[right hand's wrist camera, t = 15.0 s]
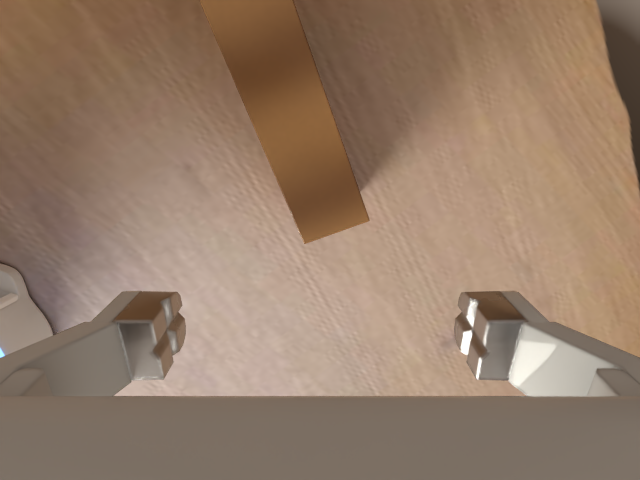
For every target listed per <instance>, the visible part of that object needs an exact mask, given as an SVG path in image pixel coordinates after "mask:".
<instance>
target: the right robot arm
mask: <svg viewBox="0 0 640 480" xmlns="http://www.w3.org/2000/svg"><path fill="white" fill-rule="evenodd" d="M181 307H182V302H181V297H180V295H179V293H178V292H158V291H125V292H121V293H120V294H119V295H118V296H117V297H116V298H115V299H114V300H113V301H112V302H111V303H110V304H109V305H108V306H107V307H106V308H105V309H104V310H103V311H102V312H100V313H99V314H98V315H97V316H96V317H95V318H94V319H93V320H92V321H91V322H84V323H81V324H79V325H77V326H74V327H72V328H69V329H67V330H65V331H62V332H60V333H58V334H55V335H53V332H52V329H51V327H50V325H49V323H48V321H47V319H46V318H45V316H44V315H43V313H42V312H41V311H40V310H39V308H38V307H37V306H36V305H35V303H34V302H33V301H32V299H31V298H30V296H29V294H28V291H27V288H26V285H25V282H24V280H23V278H22V276H21V274H20V273H19V272H18V271H17V270H16V269H14V268H13V267H10V266H7V265H4V264H1V263H0V480H640V358H639V357H637V356H634V355H632V354H630V353H627V352H625V351H623V350H620V349H618V348H615V347H613V346H611V345H608V344H606V343H604V342H601V341H599V340H597V339H594V338H592V337H589V336H587V335H585V334H582V333H580V332H578V331H575V330H573V329H571V328H568V327H566V326H563V325H561V324H559V323H556V322H549V321H548V320H547V319H546V318H545V317H544V316H543V315H542V314H541V313H540V312H539V311H538V310H536V309H535V308H534V307H533V306H532V305H531V304H530V303H529V302H528V301H527V300H526V299H525V298H524V297H523V296H522V295H521V294H520V293H519V292H516V291H489V292H462V293H461V295H460V297H459V301H458V307H459V308H460V310H461V311H462V312H461V313H460V315H459V316H458V317H457V318H456V319H455V326H454V332H455V340H456V343H457V346H458V347H459V349H460V351H461V352H463V353H464V354H466V355H467V356H468V357H467V364H468V366H469V367H470V369H471V371H472V373H473V374H474V376H475V378H476V380H509V382H510V383H511V384H512V385H513V386H515V387H516V388H517V389H519V390H520V391H521V392H523V393H524V394H525V395H527V396H114V395H115V394H116V393H117V392H119V391H120V390H121V389H123V388H124V387H125V386H127V385H128V384H129V383H131V380H164V378H165V376H166V374H167V373H168V371H169V369H170V367H171V366H172V364H173V357H172V356H173V355H174V354H176V353H177V352H179V351H180V349H181V347H182V346H183V343H184V339H185V334H186V325H185V319H184V318H183V317H182V316H181V315H180V313H179V312H178V311H179V310H180V308H181Z"/></svg>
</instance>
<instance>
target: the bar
mask: <svg viewBox="0 0 640 480" xmlns="http://www.w3.org/2000/svg"><path fill="white" fill-rule="evenodd" d="M199 1H200V3H201V5H202V8H203V10H204V12H205V15H206V17H207V19H208V22H209V24H210V26H211V28H212V31H213V33H214V35H215V38H216V40H217V42H218V45H219V47H220V49H221V52H222V54H223V56H224V59H225V61H226V63H227V66H228V68H229V70H230V73H231V75H232V77H233V80H234V82H235V84H236V87H237V89H238V91H239V94H240V96H241V98H242V100H243V103H244V105H245V107H246V110H247V112H248V114H249V117H250V119H251V121H252V124H253V126H254V128H255V131H256V133H257V135H258V138H259V140H260V142H261V145H262V147H263V149H264V152H265V154H266V156H267V159H268V161H269V163H270V166H271V168H272V170H273V172H274V175H275V177H276V179H277V182H278V184H279V186H280V189H281V191H282V193H283V196H284V198H285V200H286V203H287V205H288V207H289V210H290V212H291V214H292V217H293V219H294V221H295V224H296V226H297V228H298V231H299V233H300V235H301V237H302V240H303V242H304V244H306V243H309V242H311V241H314V240H317V239H320V238H323V237H326V236H328V235H331V234H334V233H337V232H340V231H342V230H345V229H348V228H351V227H354V226H357V225H359V224H362V223H365V222H368V221H369V217H368V214H367V211H366V208H365V206H364V203H363V200H362V197H361V194H360V191H359V188H358V185H357V183H356V180H355V177H354V174H353V171H352V168H351V165H350V162H349V160H348V157H347V154H346V151H345V148H344V145H343V142H342V139H341V137H340V134H339V131H338V128H337V125H336V122H335V119H334V117H333V114H332V111H331V108H330V105H329V102H328V99H327V96H326V94H325V91H324V88H323V85H322V82H321V79H320V76H319V73H318V71H317V68H316V65H315V62H314V59H313V56H312V53H311V50H310V48H309V45H308V42H307V39H306V36H305V33H304V30H303V27H302V25H301V22H300V19H299V16H298V13H297V10H296V7H295V4H294V2H293V0H199Z"/></svg>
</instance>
